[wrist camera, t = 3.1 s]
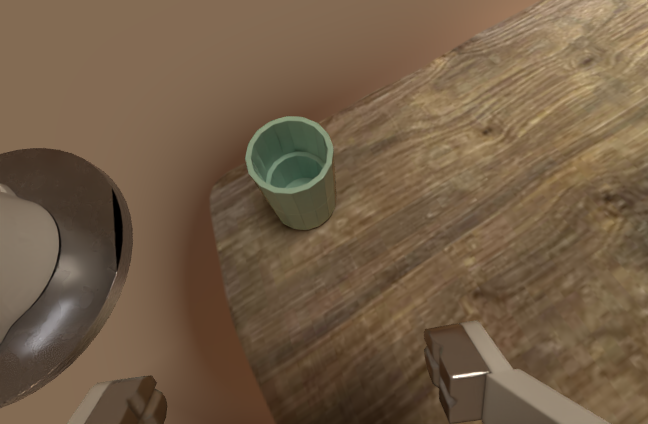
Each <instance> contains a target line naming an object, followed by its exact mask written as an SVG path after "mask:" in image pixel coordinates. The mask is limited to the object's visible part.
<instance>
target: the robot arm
mask: <svg viewBox="0 0 648 424" xmlns="http://www.w3.org/2000/svg"><path fill="white" fill-rule="evenodd" d="M58 252H59V234H58V229H57V226H56V223H55V221H54V219H53V218H52V216H51V215H50V214H49V212H48V211H47V210H46V209H44V208H43V207H42V206H40V205H38V204H36V203H34V202H31V201H27V200H24V199H21V198H19V197H17V196H16V194H15V193H14V192H13V191H12V190H11V189H10V188H9V187H8V186H6V185H3V184H0V344H1V342H2V341H3V339H4V337H5V335H6V334H7V332H8V330H9V328H10V327H11V326H12V325H13V324H14V323H15V322H16V321H17V320H18V319H19V318H20V317H21V316H22V315H23V314H24V313H25V312H26V311H27V310H28V309H29V308H30V307H31V306H32V305H33V303H34V302H35V301H36V300H37V299H38V297H39V296H40V295H41V293H42V292H43V290H44V289H45V287H46V285H47V284H48V282H49V280H50V278H51V276H52V273H53V271H54V268H55V265H56V262H57V258H58ZM424 340H425V342H426V344H427V347H426V348H425V349H424V352H425V361H426V366H427V369H428V372H429V375H430V378H431V380H432V383H433V384H434V385H435V386H436V387H438V388H439V400H440V402H441V405H442V407H443V409H444V412H445V414H446V416H447V419H448V421H449V423H450V424H453V423H461V422H468V421H476V420H482V422H483V423H484V424H610V423H609V422H607V421H605V420H604V419H602V418H600V417H599V416H597V415H595V414H594V413H592V412H590V411H589V410H587V409H585V408H584V407H582V406H580V405H579V404H577V403H575V402H574V401H572V400H570V399H569V398H567V397H565V396H564V395H562V394H560V393H559V392H557V391H555V390H554V389H552V388H550V387H549V386H547V385H545V384H544V383H542V382H540V381H539V380H537V379H535V378H534V377H532V376H530V375H529V374H527V373H525V372H524V371H522V370H520V369H514V370H513V368H512V367H511V365H510V364H509V363H508V361H507V360H506V358H505V357H504V356H503V354H502V353H501V351H500V350H499V349H498V347H497V346H496V345H495V343H494V342H493V340H492V339H491V338H490V336H489V335H488V333H487V332H486V331H485V329H484V328H483V326H482V325H481V324H480V323H479V322H478V321H477V320H476V321H470V322H464V323H459V324H458V323H457V324H451V325H446V326H440V327H434V328H429V329H425V331H424ZM156 384H157V382H156V381H155V379H154V378H153V376H143V377H135V378H128V379H121V380H114V381H108V382H101V383H97V384H96V385H95V386H93V387H92V388H91V389H90V391H89V392H88V393H87V395H86V396H85V398H84V399H83V401H82V402H81V404H80V405H79V407H78V408H77V410H76V411H75V413H74V414H73V415H72V417H71V418H70V420H69V421H68V423H67V424H164V421H165V418H166V412H167V402H166V398H165V396H164V395H163V393H162V392H160V391H159V390H156V389H155V386H156Z"/></svg>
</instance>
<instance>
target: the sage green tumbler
mask: <svg viewBox="0 0 648 424" xmlns="http://www.w3.org/2000/svg"><path fill="white" fill-rule="evenodd" d="M245 160H246V164H247V168H248V172H249V174H250V176H251V178H252V179H253V181H254V182H255V184H256V185H257V187H258V188H259V190H260V191H261V193H262V194H263V196H264V197H265V199H266V201H267V202H268V204H269V205H270V207H271V208H272V210H273V211H274V213H275V214H276V216H277V217H278V218H279V219H280V221H281V222H282V223H283V224H285V225H287V226H289V227H291V228H294V229H302V230H308V229H312V228H315V227H318V226H320V225H321V224H322V223H324V222H325V221H326V220H327V219H329V217H330V216H331V214H332V212H333V210H334V209H335V206H336V181H335V164H334V149H333V145H332V142H331V140H330V137H329V134H328V133H327V132H326V131H325V130H324V129H323V128H322V127H321V126H320V125H319V124H318V123H316V122H314V121H311V120H309V119H306V118H304V117H291V116H287V117H283V118H280V119H276V120H272V121H270V122H269V123H267V124H266V125H264V126H263V127H262V128H260V129H259V130H258V131H257V132H256V133H255V134H254V136H253V138H252V139H251V140H250V142H249V144H248V147H247V153H246V157H245Z"/></svg>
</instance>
